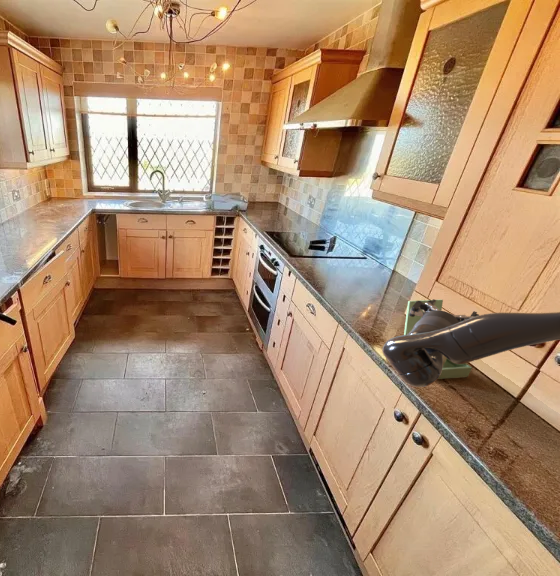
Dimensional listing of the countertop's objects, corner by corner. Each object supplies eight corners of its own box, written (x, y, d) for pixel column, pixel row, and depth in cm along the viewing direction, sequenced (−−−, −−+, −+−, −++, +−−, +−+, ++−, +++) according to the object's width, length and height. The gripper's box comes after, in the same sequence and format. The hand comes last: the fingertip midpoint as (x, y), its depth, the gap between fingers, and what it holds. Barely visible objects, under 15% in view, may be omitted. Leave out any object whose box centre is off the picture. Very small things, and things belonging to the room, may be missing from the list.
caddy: (467, 377, 93) (472, 367, 92) (432, 379, 93) (436, 369, 91) (431, 349, 105) (435, 340, 103) (400, 351, 105) (403, 342, 103)
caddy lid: (443, 299, 100) (431, 296, 104) (409, 301, 100) (399, 298, 104) (437, 340, 103) (426, 335, 107) (404, 342, 102) (394, 337, 107)
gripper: (480, 330, 67) (495, 306, 76) (405, 306, 77) (426, 287, 86) (466, 358, 70) (482, 331, 79) (396, 331, 80) (417, 310, 89)
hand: (453, 308), depth 82 cm, fingers open, 8 cm apart
